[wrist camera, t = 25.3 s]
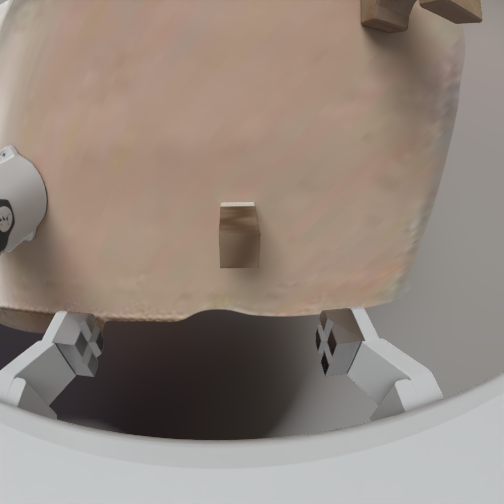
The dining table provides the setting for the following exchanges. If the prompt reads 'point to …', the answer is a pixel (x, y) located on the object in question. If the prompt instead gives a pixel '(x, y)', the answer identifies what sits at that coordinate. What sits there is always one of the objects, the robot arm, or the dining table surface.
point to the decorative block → (400, 5)
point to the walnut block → (239, 235)
